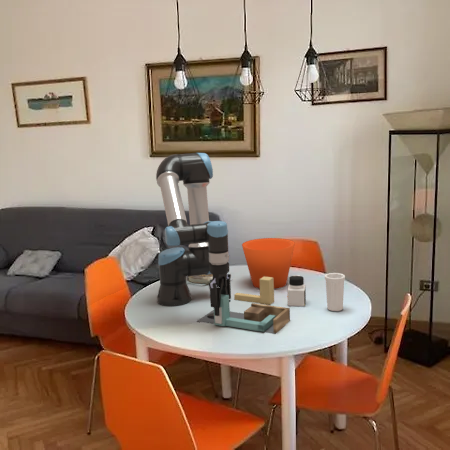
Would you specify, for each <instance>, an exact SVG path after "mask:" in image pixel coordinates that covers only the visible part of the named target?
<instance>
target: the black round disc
mask: <svg viewBox="0 0 450 450" xmlns="http://www.w3.org/2000/svg"><path fill="white" fill-rule="evenodd" d="M207 314H208V313H207ZM207 314H206V315H207ZM207 317H208V318H210V319H214V313H211V314H208V315H207Z"/></svg>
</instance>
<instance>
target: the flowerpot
mask: <svg viewBox="0 0 450 450" xmlns="http://www.w3.org/2000/svg"><path fill="white" fill-rule="evenodd" d="M295 244H296V242H295V241H293V240H291V239H287V238H281V237H280V238H279V237H266V238H265V237H264V238H261V237H260V238H256V239H255V238H254V239H250V240H246V241H244V242H243V243H242V244H241V247H242V251H243V254H244V258H245V262H246V264H247V268H248V272H249V275H250V279H251V283H252V286H253V287H255V288H256V289H260V280H259V279H261V278H262V277H273V279H274V290H276V289H281V288H284V287H285V286H286V285H287V283H288V280H289V274H290V269H291V264H292V260H293V255H294V249H295V246H296V245H295Z"/></svg>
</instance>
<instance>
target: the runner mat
mask: <svg viewBox="0 0 450 450" xmlns="http://www.w3.org/2000/svg"><path fill="white" fill-rule="evenodd" d="M211 313H214V309H212V310H211V311H210V312H208V313H207V314H204V316H202V317H201V318H199V319H197V320H196V323H205V324H209V325H212V324H213V325H214V319H210V318H208V317H207V315H208V314H211ZM230 317H231V318H237V319H244V312H243V313H242V312H236V311H230ZM228 327H230V328H232V327H231V326H228ZM235 328H236V329H238V328H237V327H234V329H235ZM240 329H242V330H244V329H243V328H240ZM246 330H248V331H250V330H249V329H246ZM281 330H282V329H280V331H281ZM252 331H255V332H257V331H256V330H252ZM259 332H261V333H267V334H274V335H276V334H277V333H274V327H273V324H272V325H271V326H270V327H269V328H268V329H267V330H266V331H264V332H262V331H259Z"/></svg>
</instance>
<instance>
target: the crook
mask: <svg viewBox="0 0 450 450" xmlns="http://www.w3.org/2000/svg"><path fill="white" fill-rule="evenodd" d="M229 300H230V299H229V295H223V294H221V301H220V307H222V324H219V323H215V310H214V309H213V310H214V324H213V325H214V326H220V327H229V326H231V327H230V328H235V327H237V328H236V329H241V328H243V329H242V330H247V329H249V330H248V331H253V330H256V331H255V332H260V331H262V332H261V333H265V332H264V331H266V330H267V329H268V328H269V327H270V326H271V325H272V324H273V319H274V318H275V317H276V316H275V315H269V316H267V317H266V318H265V319H264V320H263V321H261V322H257V321H250V320H244V319H237V318H231V317H230V312H231V311H230V309H231V308H230V302H229Z"/></svg>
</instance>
